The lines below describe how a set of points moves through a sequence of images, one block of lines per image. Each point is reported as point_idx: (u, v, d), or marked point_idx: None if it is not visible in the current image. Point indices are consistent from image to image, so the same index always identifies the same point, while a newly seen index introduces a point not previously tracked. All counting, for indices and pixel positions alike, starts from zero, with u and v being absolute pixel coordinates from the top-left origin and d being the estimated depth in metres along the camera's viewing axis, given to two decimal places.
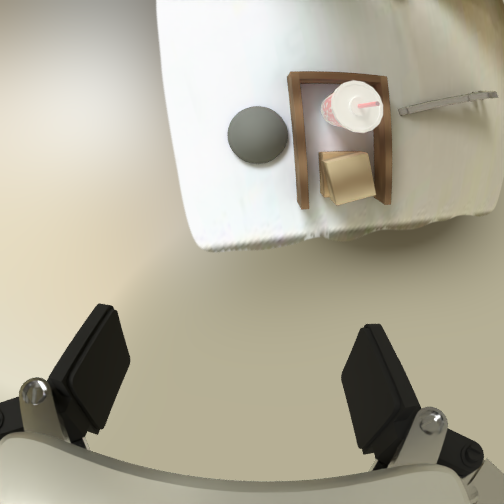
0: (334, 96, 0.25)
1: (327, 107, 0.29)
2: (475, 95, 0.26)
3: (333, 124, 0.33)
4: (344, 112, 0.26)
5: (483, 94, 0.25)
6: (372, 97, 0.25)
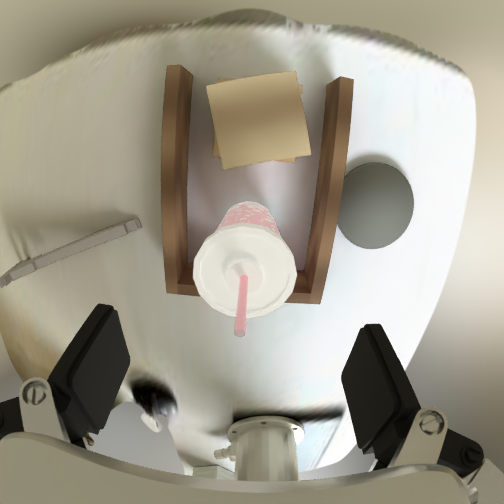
0: (288, 294, 0.17)
1: None
2: (26, 272, 0.22)
3: (262, 209, 0.22)
4: (275, 266, 0.16)
5: (16, 277, 0.22)
6: (213, 289, 0.17)
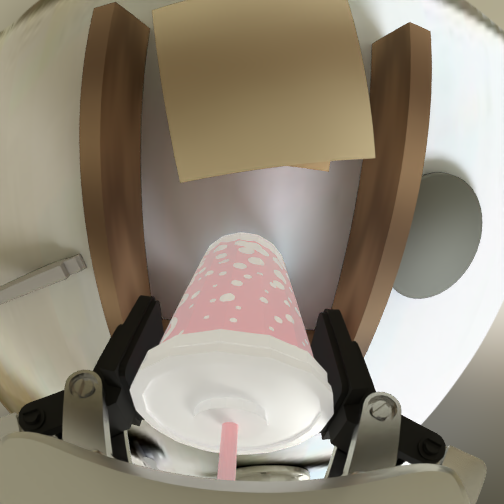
0: (312, 433, 0.08)
1: None
2: None
3: (266, 250, 0.13)
4: (293, 405, 0.07)
5: None
6: (176, 425, 0.08)
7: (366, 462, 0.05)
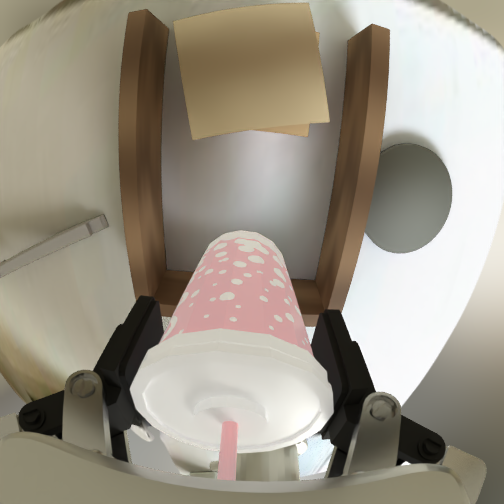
0: (312, 432, 0.08)
1: None
2: None
3: (266, 248, 0.13)
4: (292, 404, 0.07)
5: None
6: (177, 423, 0.08)
7: (366, 462, 0.05)
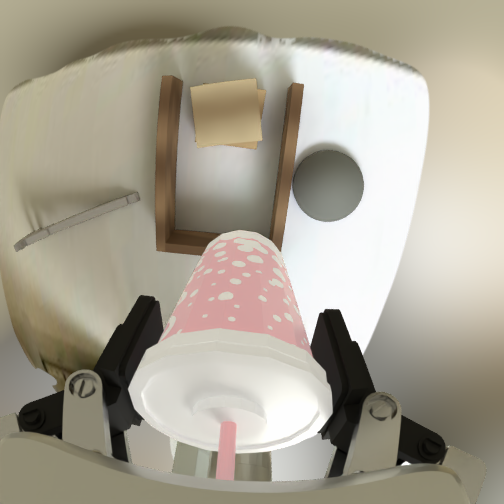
0: (311, 432, 0.08)
1: None
2: (40, 238, 0.28)
3: (265, 248, 0.13)
4: (291, 404, 0.07)
5: (31, 242, 0.28)
6: (175, 424, 0.08)
7: (366, 462, 0.05)
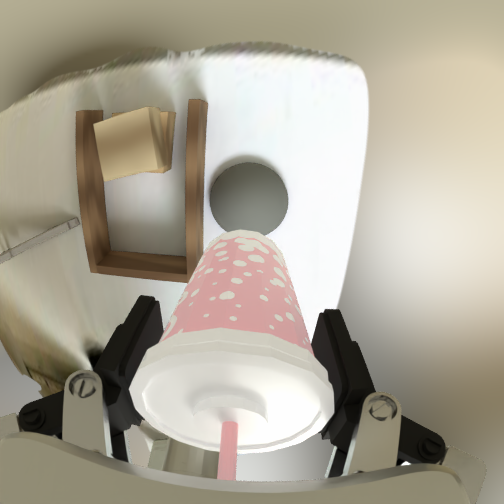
0: (313, 432, 0.08)
1: None
2: (5, 259, 0.28)
3: (266, 247, 0.13)
4: (293, 404, 0.07)
5: None
6: (176, 424, 0.08)
7: (366, 462, 0.05)
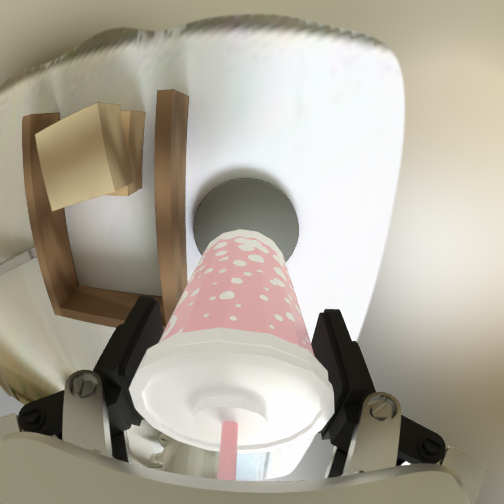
0: (313, 432, 0.08)
1: None
2: None
3: (266, 247, 0.13)
4: (293, 404, 0.07)
5: None
6: (176, 424, 0.08)
7: (366, 462, 0.05)
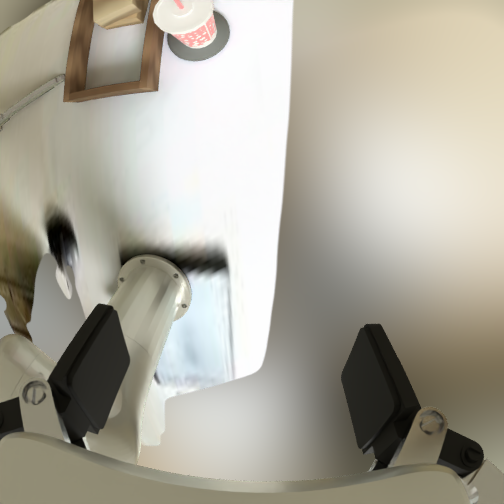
0: (208, 14, 0.18)
1: (213, 20, 0.22)
2: None
3: None
4: (200, 1, 0.18)
5: None
6: (163, 18, 0.18)
7: None
